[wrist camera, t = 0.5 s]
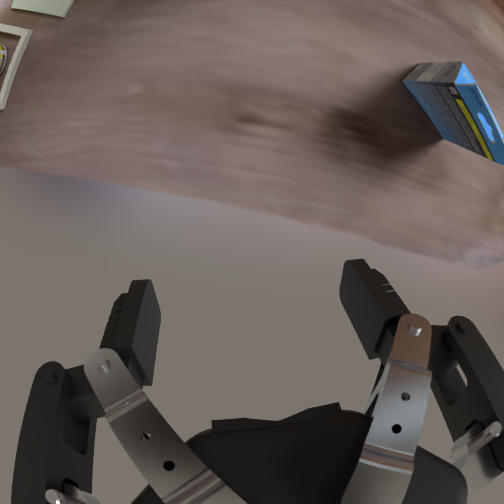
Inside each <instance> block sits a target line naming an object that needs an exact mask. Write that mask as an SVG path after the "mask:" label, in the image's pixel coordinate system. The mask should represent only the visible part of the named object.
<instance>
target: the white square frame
mask: <svg viewBox="0 0 504 504" xmlns="http://www.w3.org/2000/svg"><path fill="white" fill-rule="evenodd" d="M0 31H2V32H6V33H11V34H15V35H19V36H21V38H20V40H19V43H18V45H17V47H16V50H15V52H14V55H13V57H12V60H11V63H10V65H9V68H8V71H7V74H6V77H5V80H4V83H3V86H2V89H1V92H0V110H2V109H5V106H6V102H7V99H8V95H9V92H10V89H11V86H12V83H13V80H14V77H15V74H16V71H17V69H18V66H19V64H20V61H21V58H22V56H23V54H24V51H25V49H26V46H27V44H28V42H29V40H30V37H31V35H32V33H33V31H34V30H30V29H25V28H21V27H16V26H11V25H6V24H1V23H0Z"/></svg>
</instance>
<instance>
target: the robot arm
mask: <svg viewBox="0 0 504 504" xmlns="http://www.w3.org/2000/svg"><path fill="white" fill-rule="evenodd" d="M340 300H341V303H342V305H343V307H344V309H345V311H346V313H347V315H348V317H349V319H350V321H351V323H352V325H353V327H354V329H355V331H356V333H357V335H358V337H359V339H360V341H361V343H362V345H363V348H364V350H365V352H366V354H367V355H368V358H369V360H371V359H375V358H379V359H380V360H381V363H380V365H379V368H378V371H377V374H376V377H375V380H374V383H373V386H372V389H371V392H370V395H369V397H368V401H367V403H366V405H365V407H364V409H363V411H362V413H360V412H355V411H351V410H341V407H340V404H339V402H337V403H332V404H328V405H323V406H318V407H313V408H309V409H306V410H304V411H302V412H299V413H297V414H295V415H292V416H290V417H287V418H285V419H282V420H279V421H270V420H259V419H249V418H237V419H225V420H212V428H211V429H207V430H205V431H202V432H200V433H198V434H196V435H195V436H193V437H191V438H190V439H189V440H187V441H186V442H184V441H183V440H182V439H181V438H180V437H179V435H178V434H177V433H176V432H175V431H174V430H173V428H172V427H171V426H170V425H169V424H168V422H167V421H166V420H165V419H164V418H163V416H162V415H161V414H160V412H159V411H158V410H157V408H156V407H155V406H154V405H153V403H152V402H151V401H150V400H149V398H148V397H147V396H146V394H145V393H144V392H143V391H142V389H143V386H152V381H153V373H154V365H155V357H156V349H157V343H158V336H159V329H160V323H161V314H160V313H161V312H160V308H159V304H158V301H157V298H156V294H155V291H154V288H153V284H152V281H151V280H150V279H146V280H145V279H144V280H133V281H132V282H131V285H130V288H129V291H128V293H122V294H121V295H120V296H119V298H118V299H117V300H116V301H115V302H114V305H113V308H112V311H111V314H110V316H109V321H108V323H107V326H106V329H105V332H104V335H103V338H102V341H101V345H100V348H99V349H98V350H96V351H94V352H92V353H91V354H90V355H89V356H88V357H87V359H86V360H85V363H84V365H81V366H77V367H73V368H69V369H64V367H63V366H62V365H61V364H60V363H58V362H55V361H52V362H48V363H45V364H44V365H42V366H41V367H40V368H39V369H38V371H37V373H36V375H35V378H34V381H33V384H32V388H31V391H30V395H29V398H28V402H27V406H26V410H25V414H24V418H23V422H22V427H21V431H20V436H19V441H18V447H17V453H16V460H15V466H14V474H13V483H12V494H11V504H101V503H100V502H99V500H98V499H97V498H96V497H95V496H93V495H92V473H93V471H92V470H93V455H94V442H95V432H96V422H97V418H100V417H106V420H107V422H108V423H109V425H110V427H111V428H112V430H113V432H114V433H115V435H116V437H117V438H118V440H119V441H120V443H121V445H122V446H123V448H124V449H125V451H126V452H127V454H128V455H129V457H130V458H131V460H132V461H133V462H134V464H135V465H136V467H137V468H138V469H139V471H140V472H141V473H142V475H143V476H144V478H145V479H146V480H147V482H148V483H149V484H148V485H147V486H146V487H145V488H144V490H143V491H142V492H141V493H140V494H139V495H138V496H137V497H136V498H135V499H134V501H133V502H132V503H131V504H466V503H467V497H468V496H469V495H470V494H472V493H474V492H475V491H477V490H478V489H480V488H481V487H483V486H485V485H486V484H488V483H490V482H492V481H494V480H496V479H498V478H499V477H501V476H503V475H504V371H503V369H502V367H501V366H500V364H499V362H498V361H497V359H496V357H495V355H494V354H493V352H492V351H491V349H490V348H489V346H488V345H487V343H486V341H485V340H484V338H483V337H482V335H481V334H480V333H479V331H478V329H477V328H476V326H475V325H474V324H473V322H471V321H470V320H469V319H467V318H466V317H463V316H454V317H452V318H451V319H450V320H449V322H448V324H447V326H439V325H430V323H429V322H428V321H427V320H426V319H425V318H424V317H422V316H420V315H418V314H412V313H410V311H409V310H408V309H407V307H406V305H405V304H404V303H403V301H402V300H401V298H400V297H399V296H398V294H397V293H396V292H395V291H394V289H393V287H392V286H391V285H390V283H389V282H388V280H387V279H386V278H385V276H384V275H383V274H381V273H380V272H378V271H377V270H376V269H371V268H370V267H369V266H368V264H367V263H366V262H365V260H364V259H355V260H347V261H345V263H344V267H343V273H342V279H341V284H340ZM458 364H459V365H460V367H461V369H462V370H463V372H464V374H465V376H466V378H467V383H468V385H467V387H466V385H465V383H464V381H463V379H462V377H461V375H460V373H459V371H458V370H457V368H456V366H457V365H458ZM430 387H431V389H432V391H433V394H434V396H435V398H436V400H437V403H438V405H439V407H440V410H441V412H442V414H443V417H444V419H445V421H446V424H447V426H448V429H449V431H450V434H451V436H452V439H453V442H454V444H453V447H452V454H451V456H450V463H449V462H447V461H445V460H443V459H441V458H439V457H438V456H436V455H434V454H432V453H430V452H429V451H427V450H425V449H423V448H421V447H420V446H418V445H417V444H418V440H419V436H420V432H421V428H422V424H423V420H424V415H425V410H426V406H427V401H428V395H429V389H430Z"/></svg>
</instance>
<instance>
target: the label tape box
mask: <svg viewBox="0 0 504 504" xmlns="http://www.w3.org/2000/svg"><path fill="white" fill-rule="evenodd" d="M402 82H403V83H404V85H405V86H406V87H407V88H408V90H409V91H410V92H411V93H412V95H413V96H414V97H415V99H416V100H417V101H418V103H419V104H420V105H421V107H422V108H423V109H424V111H425V112H426V114H427V115H428V116H429V118H430V119H431V121H432V122H433V124H434V125H435V127H436V128H437V130H438V131H439V133H440V134H441V136H442V137H443V139H445V140H447V141H450V142H452V143H454V144H457V145H459V146H461V147H463V148H466V149H468V150H470V151H473V152H475V153H477V154H479V155H481V156H483V157H486V158H488V159H490V160H492V161H494V162H496V163H499V164H501V165H504V142H503V137H504V136H503V133H502V131H501V129H500V127H499V125H498V123H497V121H496V119H495V117H494V115H493V113H492V111H491V109H490V107H489V105H488V103H487V101H486V99H485V97H484V96H483V94H482V92H481V90H480V89H479V87H478V85H477V83H476V82H475V80H474V78H473V77H472V75H471V74H470V72H469V70H468V69H467V67H466V66H465V64H464V63H463V62H434V63H420V64H418V65H417V66H416V67H415V68H414V69H413V70H412V71H411V72H410V73H409V74H408V75H407V76H406V77H405V78H404V79H403V80H402Z"/></svg>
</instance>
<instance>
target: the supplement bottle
mask: <svg viewBox="0 0 504 504" xmlns="http://www.w3.org/2000/svg"><path fill="white" fill-rule="evenodd" d="M6 60H7V50H6V47H5V46H4V45H3V44H0V74H1V73H2V71H3V69H4V67H5V64H6Z"/></svg>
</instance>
